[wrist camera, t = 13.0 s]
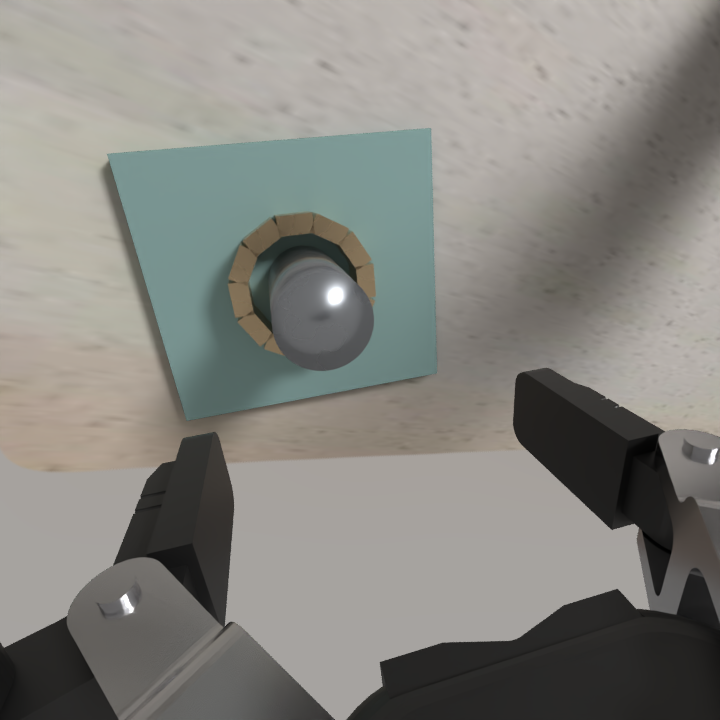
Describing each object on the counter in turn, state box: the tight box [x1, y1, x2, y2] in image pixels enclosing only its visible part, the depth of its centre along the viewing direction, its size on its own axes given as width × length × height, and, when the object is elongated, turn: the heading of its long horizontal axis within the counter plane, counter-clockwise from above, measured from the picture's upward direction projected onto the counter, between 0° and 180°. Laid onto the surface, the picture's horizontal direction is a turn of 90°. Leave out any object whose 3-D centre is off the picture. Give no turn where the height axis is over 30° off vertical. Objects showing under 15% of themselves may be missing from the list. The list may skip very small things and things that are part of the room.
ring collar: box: [228, 211, 376, 356], centre depth 28 cm, size 9×9×2 cm
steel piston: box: [268, 246, 374, 371], centre depth 25 cm, size 5×5×10 cm
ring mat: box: [107, 128, 437, 421], centre depth 30 cm, size 20×18×1 cm
